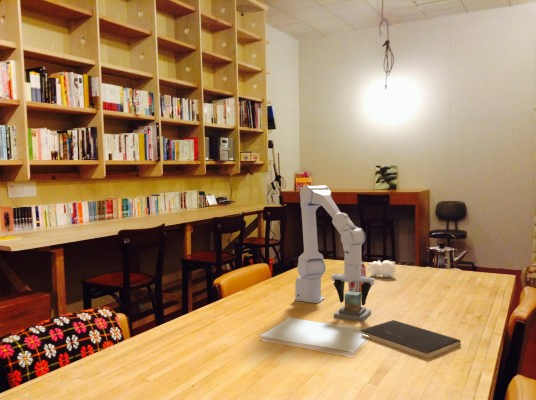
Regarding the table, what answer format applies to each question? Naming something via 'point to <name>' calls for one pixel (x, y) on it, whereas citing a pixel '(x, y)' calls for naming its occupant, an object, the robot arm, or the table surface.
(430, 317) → the table surface
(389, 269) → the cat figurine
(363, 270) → the soda can
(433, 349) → the hardcover book
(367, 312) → the socket board
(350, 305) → the block stack
